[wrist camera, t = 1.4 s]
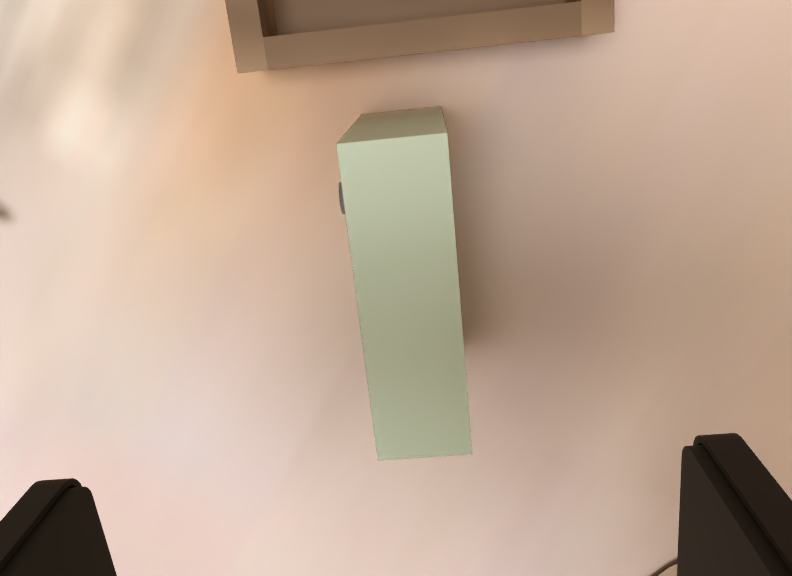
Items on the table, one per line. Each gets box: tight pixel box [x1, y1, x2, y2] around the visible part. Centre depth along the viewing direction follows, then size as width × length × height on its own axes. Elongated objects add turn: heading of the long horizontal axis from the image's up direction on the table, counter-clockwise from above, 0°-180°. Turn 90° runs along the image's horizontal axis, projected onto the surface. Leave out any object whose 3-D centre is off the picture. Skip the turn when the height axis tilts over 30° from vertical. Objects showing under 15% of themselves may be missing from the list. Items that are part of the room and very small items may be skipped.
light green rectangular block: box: [336, 106, 472, 460], centre depth 24 cm, size 10×3×8 cm, turn 6°
